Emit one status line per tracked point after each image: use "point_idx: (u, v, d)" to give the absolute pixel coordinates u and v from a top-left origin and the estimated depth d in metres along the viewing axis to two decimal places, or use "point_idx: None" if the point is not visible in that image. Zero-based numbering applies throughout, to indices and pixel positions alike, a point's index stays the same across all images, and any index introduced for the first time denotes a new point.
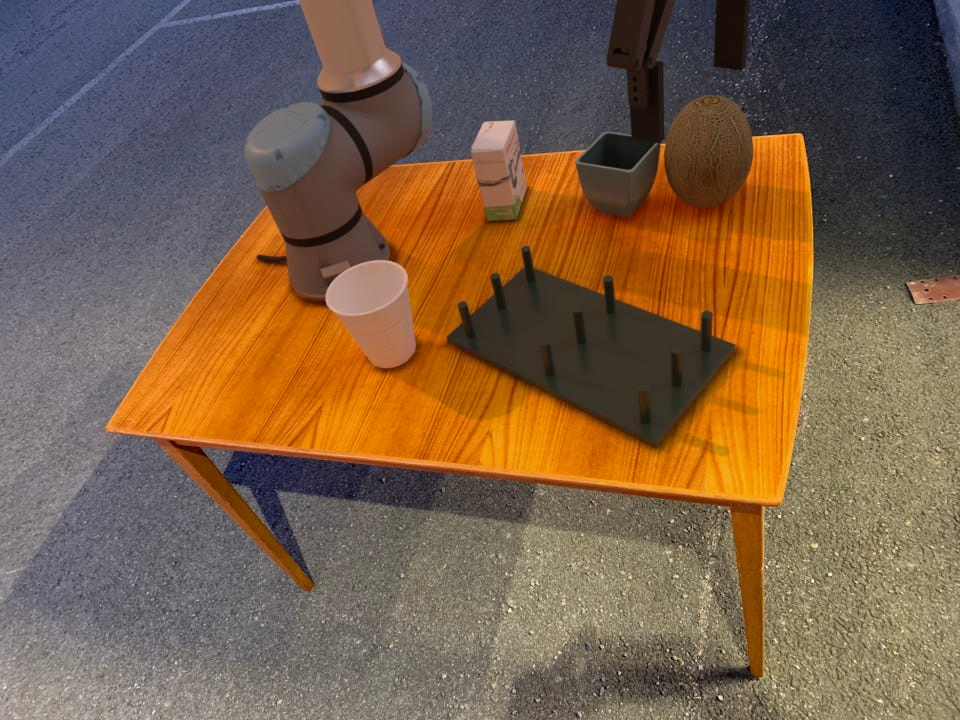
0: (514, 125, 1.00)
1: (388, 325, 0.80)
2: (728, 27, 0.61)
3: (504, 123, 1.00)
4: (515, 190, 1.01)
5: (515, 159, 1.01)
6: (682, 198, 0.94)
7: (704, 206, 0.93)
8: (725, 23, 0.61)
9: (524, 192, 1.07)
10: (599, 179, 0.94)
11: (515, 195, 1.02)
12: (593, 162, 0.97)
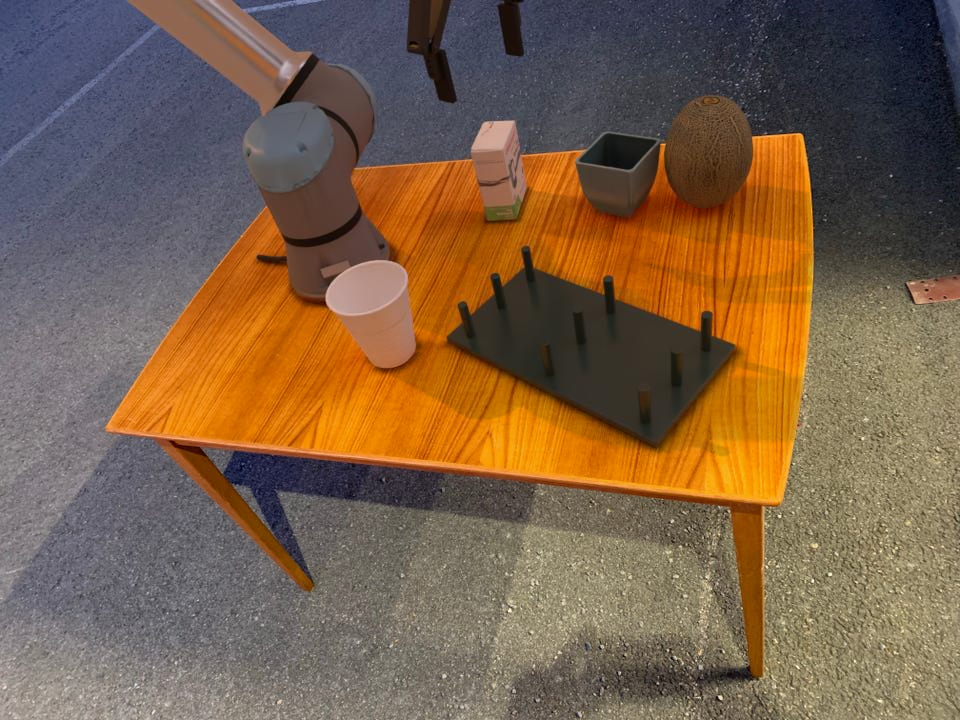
0: (514, 125, 1.00)
1: (388, 325, 0.80)
2: (508, 28, 0.92)
3: (504, 123, 1.00)
4: (515, 190, 1.01)
5: (515, 159, 1.01)
6: (682, 198, 0.94)
7: (704, 206, 0.93)
8: (506, 25, 0.92)
9: (524, 192, 1.07)
10: (599, 179, 0.94)
11: (515, 195, 1.02)
12: (593, 162, 0.97)
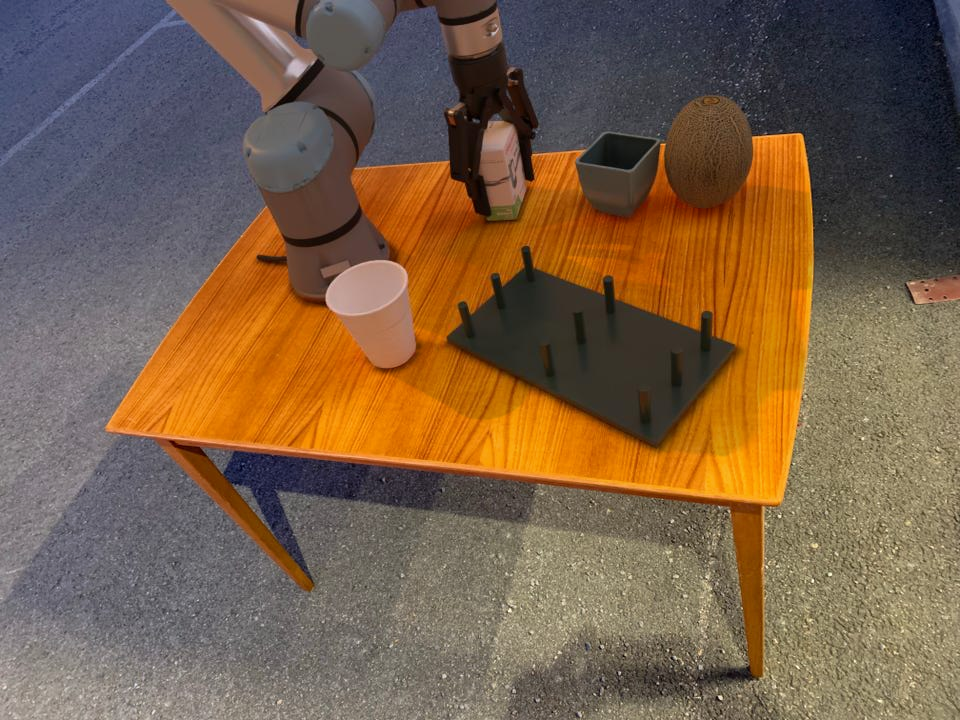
0: None
1: (388, 325, 0.80)
2: None
3: (504, 123, 1.00)
4: (515, 190, 1.01)
5: (514, 159, 1.01)
6: (682, 198, 0.94)
7: (704, 206, 0.93)
8: None
9: (524, 192, 1.07)
10: (599, 179, 0.94)
11: (515, 195, 1.02)
12: (593, 162, 0.97)
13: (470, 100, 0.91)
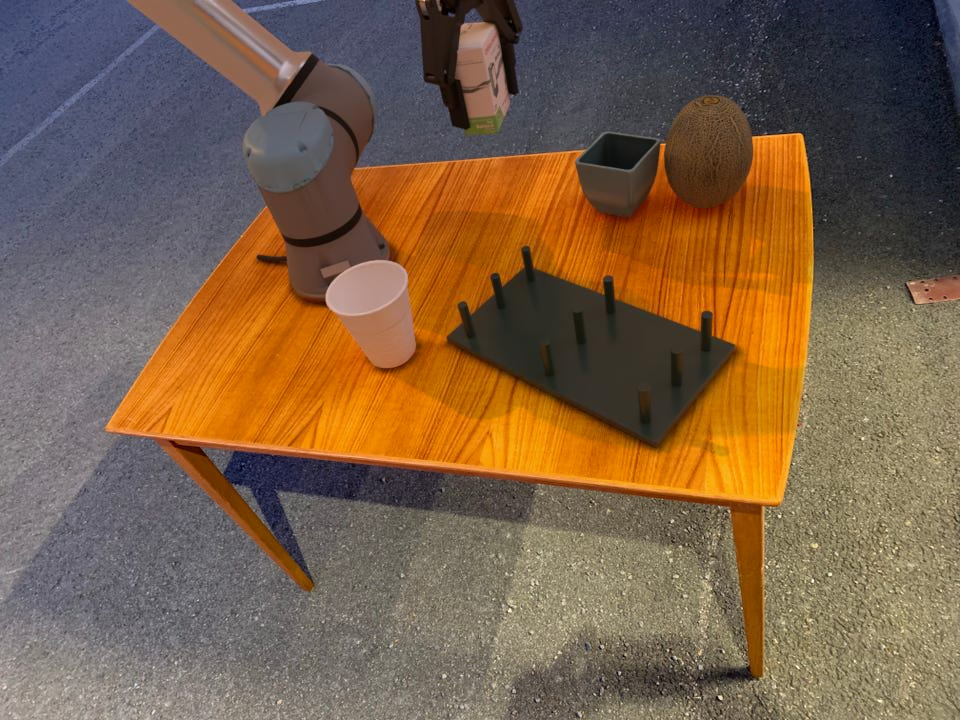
0: (495, 26, 0.90)
1: (388, 325, 0.80)
2: None
3: (484, 23, 0.90)
4: (496, 99, 0.92)
5: (496, 64, 0.91)
6: (682, 198, 0.94)
7: (704, 206, 0.93)
8: None
9: (507, 107, 0.97)
10: (599, 179, 0.94)
11: (496, 105, 0.92)
12: (593, 162, 0.97)
13: None
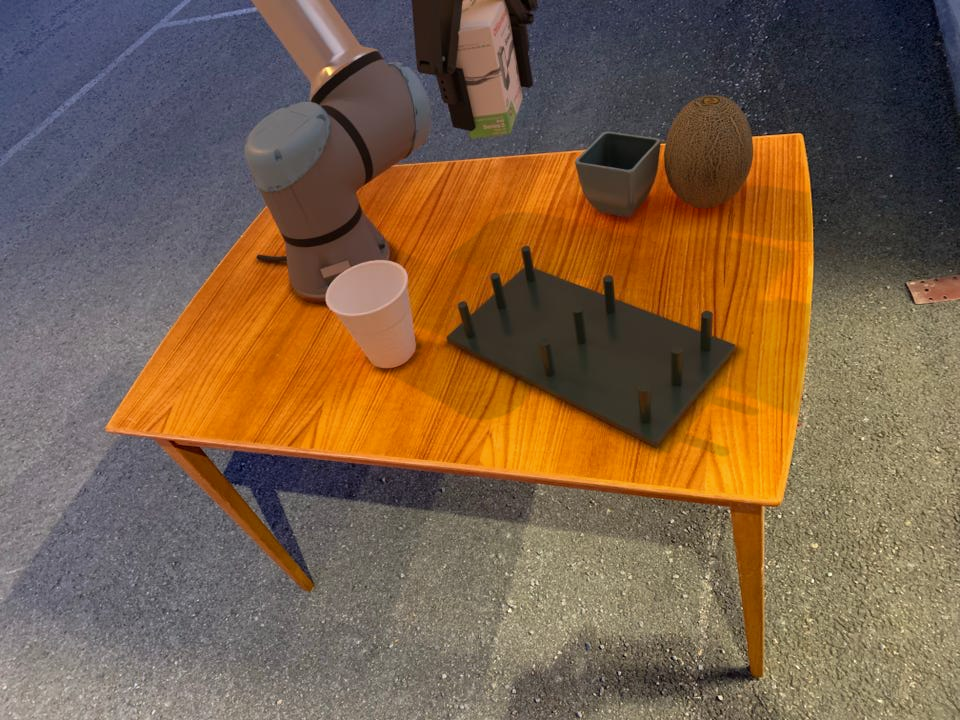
0: None
1: (388, 325, 0.80)
2: None
3: None
4: (508, 93, 0.74)
5: (506, 49, 0.73)
6: (682, 198, 0.94)
7: (704, 206, 0.93)
8: None
9: (519, 102, 0.79)
10: (599, 179, 0.94)
11: (508, 100, 0.74)
12: (593, 162, 0.97)
13: None
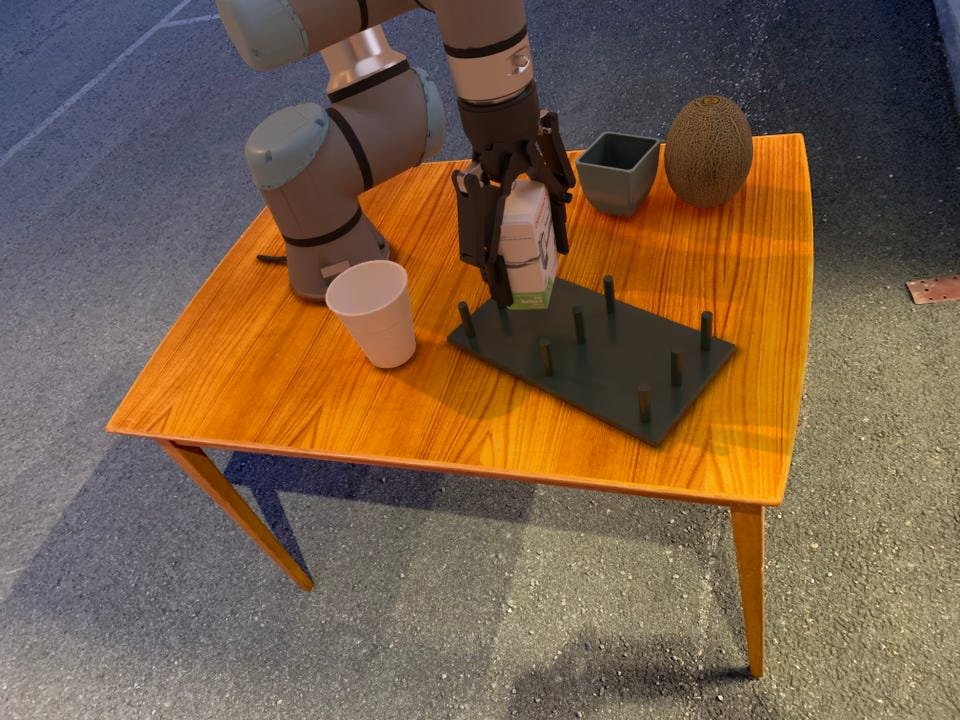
0: (545, 186, 0.75)
1: (388, 325, 0.80)
2: None
3: (532, 182, 0.75)
4: (546, 271, 0.76)
5: (546, 231, 0.75)
6: (682, 198, 0.94)
7: (704, 206, 0.93)
8: None
9: (556, 269, 0.81)
10: (599, 179, 0.94)
11: (546, 278, 0.76)
12: (593, 162, 0.97)
13: (488, 159, 0.66)
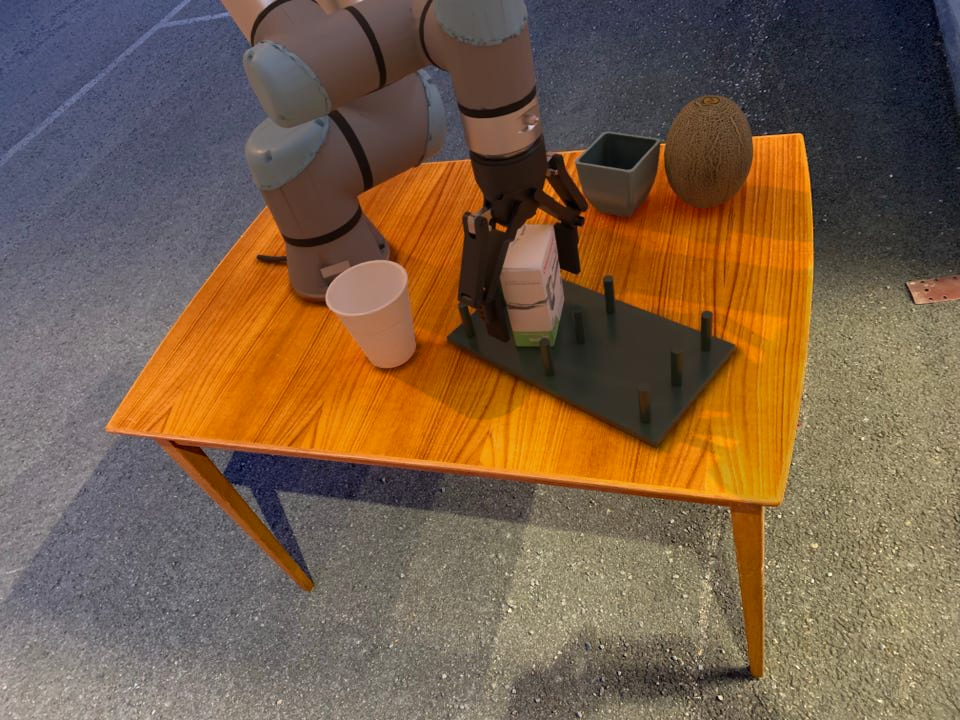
0: (552, 231, 0.79)
1: (388, 325, 0.80)
2: (564, 247, 0.83)
3: (540, 228, 0.79)
4: (553, 311, 0.80)
5: (553, 273, 0.79)
6: (682, 198, 0.94)
7: (704, 206, 0.93)
8: (562, 244, 0.83)
9: (562, 306, 0.85)
10: (599, 179, 0.94)
11: (553, 318, 0.80)
12: (593, 162, 0.97)
13: (498, 207, 0.69)
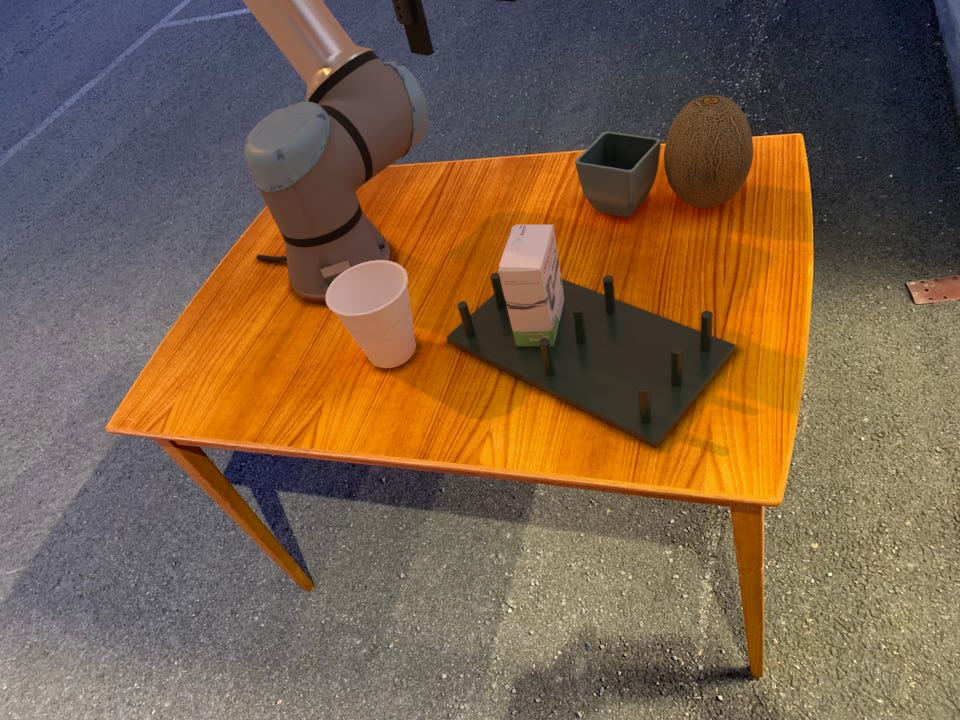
0: (552, 231, 0.79)
1: (388, 325, 0.80)
2: None
3: (540, 227, 0.79)
4: (553, 311, 0.80)
5: (553, 273, 0.79)
6: (682, 198, 0.94)
7: (704, 206, 0.93)
8: None
9: (562, 306, 0.85)
10: (599, 179, 0.94)
11: (553, 318, 0.80)
12: (593, 162, 0.97)
13: None
